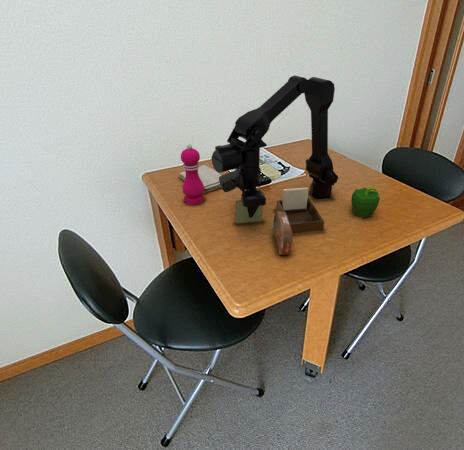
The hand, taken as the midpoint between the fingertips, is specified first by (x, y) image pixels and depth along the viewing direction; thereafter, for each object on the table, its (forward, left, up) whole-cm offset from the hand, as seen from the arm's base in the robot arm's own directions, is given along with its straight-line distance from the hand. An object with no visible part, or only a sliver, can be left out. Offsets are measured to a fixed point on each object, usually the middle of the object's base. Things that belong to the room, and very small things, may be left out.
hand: (248, 211), depth 102 cm
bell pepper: (-37, +1, -4) cm, 37 cm away
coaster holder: (-15, +1, -4) cm, 16 cm away
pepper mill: (+16, -17, -4) cm, 24 cm away
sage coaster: (0, 0, -4) cm, 4 cm away
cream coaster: (-15, -4, -3) cm, 16 cm away
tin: (-7, +12, -4) cm, 15 cm away
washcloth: (+12, -31, -4) cm, 34 cm away
